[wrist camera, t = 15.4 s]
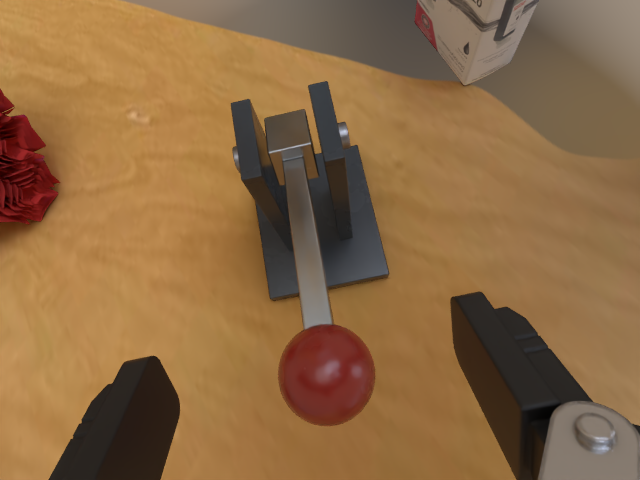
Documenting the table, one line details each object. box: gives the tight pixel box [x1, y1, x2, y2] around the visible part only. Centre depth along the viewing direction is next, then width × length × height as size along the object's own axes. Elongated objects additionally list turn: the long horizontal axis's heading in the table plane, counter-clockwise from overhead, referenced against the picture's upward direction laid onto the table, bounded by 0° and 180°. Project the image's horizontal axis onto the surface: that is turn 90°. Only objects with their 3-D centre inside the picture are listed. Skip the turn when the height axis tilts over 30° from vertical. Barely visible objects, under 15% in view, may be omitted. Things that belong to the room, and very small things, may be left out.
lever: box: [264, 109, 375, 426], centre depth 18 cm, size 15×3×3 cm, turn 12°
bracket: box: [231, 81, 389, 301], centre depth 26 cm, size 11×9×14 cm
